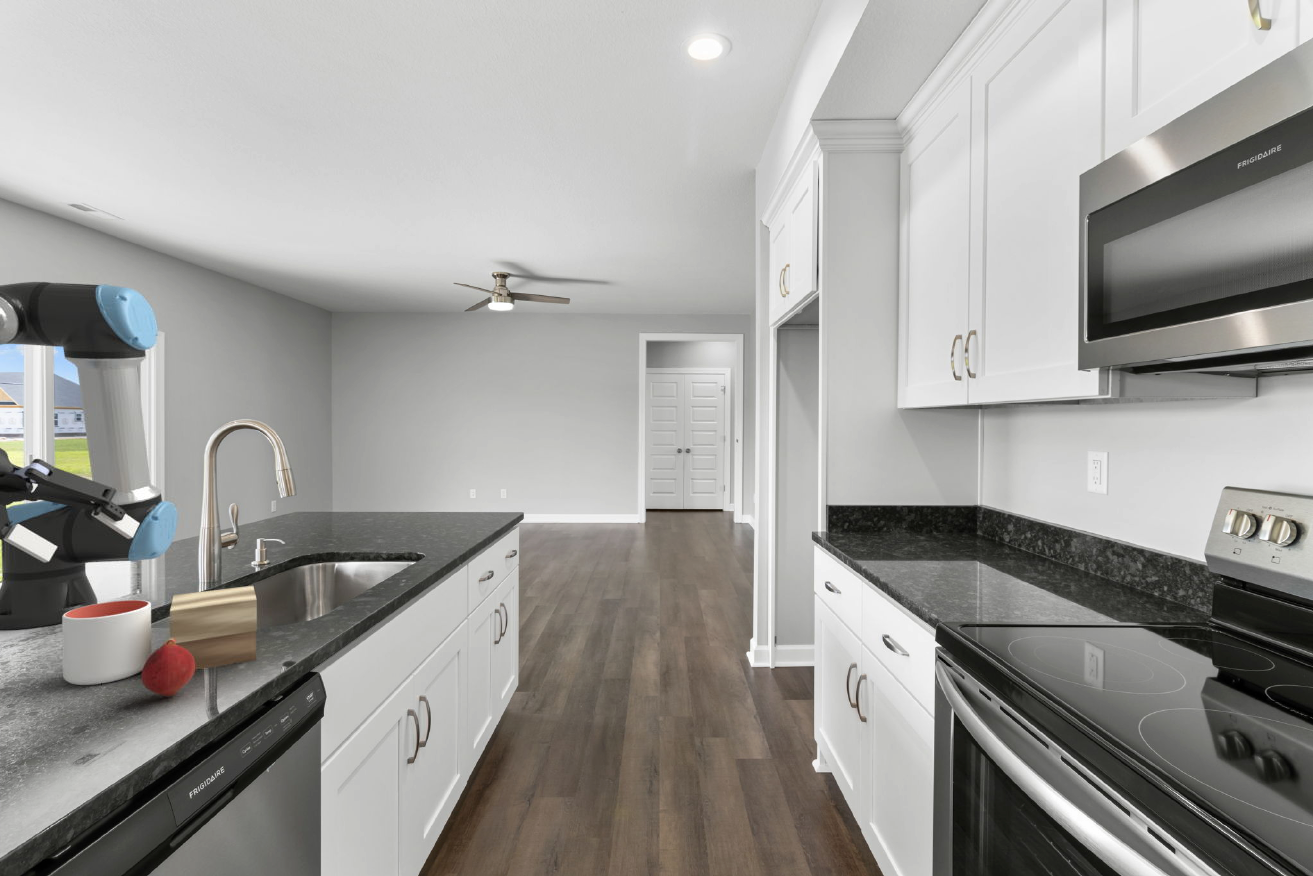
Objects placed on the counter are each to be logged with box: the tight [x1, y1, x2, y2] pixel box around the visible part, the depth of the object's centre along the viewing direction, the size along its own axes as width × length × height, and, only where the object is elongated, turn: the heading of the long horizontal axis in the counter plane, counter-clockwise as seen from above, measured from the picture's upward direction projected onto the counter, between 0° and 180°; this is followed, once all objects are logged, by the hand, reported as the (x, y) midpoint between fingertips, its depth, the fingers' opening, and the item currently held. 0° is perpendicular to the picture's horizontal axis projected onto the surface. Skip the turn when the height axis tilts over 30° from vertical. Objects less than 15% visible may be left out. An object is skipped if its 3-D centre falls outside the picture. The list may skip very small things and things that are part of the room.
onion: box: [140, 638, 196, 698], centre depth 86 cm, size 6×6×8 cm
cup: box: [61, 599, 152, 686], centre depth 94 cm, size 10×10×10 cm
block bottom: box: [176, 631, 257, 671], centre depth 101 cm, size 11×11×5 cm
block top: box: [169, 585, 258, 643], centre depth 101 cm, size 11×11×5 cm
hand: (92, 543), depth 95 cm, fingers open, 13 cm apart
